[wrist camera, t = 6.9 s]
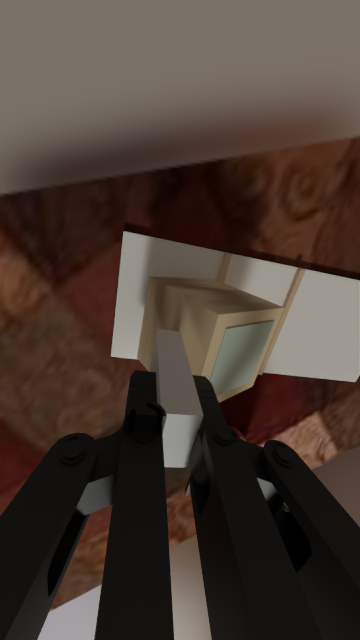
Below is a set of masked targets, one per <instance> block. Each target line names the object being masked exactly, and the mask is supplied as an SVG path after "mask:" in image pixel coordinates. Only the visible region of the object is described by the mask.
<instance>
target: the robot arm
mask: <svg viewBox="0 0 360 640" xmlns="http://www.w3.org/2000/svg"><path fill="white" fill-rule="evenodd" d="M189 459H190V462H191V468H192V471H191V474H190V477H189V480H188V483H187V486H186V489H185V496H188V494H189V492H190V491H191V498H192V505H193V512H194V519H195V526H196V533H197V539H198V546H199V553H200V560H201V567H202V574H203V581H204V588H205V595H206V602H207V609H208V616H209V622H210V630H211V637H212V640H360V527H359V526H358V525H357V524H356V522H354V520H353V519H352V518H351V517H350V516H349V514H348V513H347V512H346V511H345V510H344V508H343V507H342V506H341V505H340V504H339V502H337V500H336V499H335V498H334V497H333V496H332V494H331V493H330V492H329V491H328V490H327V488H326V487H325V486H324V485H323V484H322V482H321V481H320V480H319V479H318V478H317V477H316V475H315V474H314V473H313V472H312V471H311V470H310V468H309V467H308V466H307V465H306V464H305V462H304V461H303V460H302V459H301V458H300V457H299V455H298V454H297V453H296V452H295V451H294V450H293V449H292V448H291V447H289V446H288V445H286V444H285V443H283V442H280V441H277V440H269V441H267V442H266V443H265V445H264V447H260V446H258V445H255V444H252V443H249V442H246V441H244V440H242V439H241V438H240V436H239V435H238V433H237V431H235V430H234V429H233V428H232V427H231V426H229V425H227V423H226V420H225V417H224V415H223V412H222V409H221V407H220V404H219V402H218V399H217V396H216V394H215V392H214V388H213V386H212V383H211V382H210V381H209V380H208V379H207V378H206V377H205V376H197V375H192V372H191V368H190V364H189V361H188V357H187V353H186V350H185V346H184V342H183V338H182V335H181V332H178V331H170V330H163V329H157V330H156V336H155V342H154V347H153V353H152V358H151V364H150V372H147V371H137V370H136V371H135V372H134V373H133V374H132V375H131V377H130V383H129V390H128V397H127V404H126V411H125V419H124V423H123V425H122V426H121V428H120V429H119V430H118V431H117V432H115V433H114V434H112V435H110V436H107V437H105V438H101V439H97V440H94V439H93V437H91V436H89V435H87V434H85V433H74V434H70V435H67V436H65V437H63V438H61V439H59V440H58V441H57V442H56V443H55V444H54V445H53V446H52V447H51V448H50V450H49V451H48V452H47V454H46V455H45V457H44V458H43V459H42V461H41V462H40V463H39V465H38V466H37V467H36V469H35V470H34V471H33V473H32V474H31V476H30V477H29V478H28V480H27V481H26V482H25V484H24V485H23V486H22V488H21V489H20V490H19V492H18V493H17V495H16V496H15V497H14V499H13V500H12V501H11V503H10V504H9V505H8V507H7V508H6V509H5V511H4V512H3V514H2V515H1V516H0V640H37V639H38V636H39V634H40V632H41V629H42V627H43V625H44V622H45V620H46V617H47V615H48V613H49V610H50V608H51V606H52V603H53V601H54V598H55V596H56V594H57V591H58V589H59V587H60V584H61V582H62V579H63V577H64V575H65V572H66V570H67V568H68V565H69V563H70V560H71V558H72V556H73V553H74V551H75V549H76V546H77V544H78V541H79V539H80V537H81V534H82V532H83V530H84V527H85V525H86V522H87V520H88V518H89V515H90V513H92V512H95V511H97V510H100V509H102V508H105V507H107V506H110V505H112V504H113V506H112V513H111V520H110V528H109V535H108V543H107V550H106V557H105V565H104V572H103V579H102V587H101V595H100V602H99V609H98V616H97V624H96V632H95V639H94V640H174V631H173V612H172V595H171V578H170V577H171V576H170V560H169V540H168V523H167V505H166V487H165V469H164V467H187V466H188V463H189ZM284 502H285V504H286V505H287V507H288V508H287V507H286V506H285V505H284Z"/></svg>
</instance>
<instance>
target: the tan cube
mask: <svg viewBox="0 0 360 640" xmlns="http://www.w3.org/2000/svg"><path fill="white" fill-rule="evenodd" d="M283 310H284V307H282V306H279V305H277V304H274V303H272V302H269V301H267V300H264V299H262V298H259V297H257V296H254V295H252V294H250V293H247V292H245V291H242V290H240V289H237V288H235V287H232V286H230V285H227V284H225V283H222V282H220V281H217V280H215V279H196V278H173V277H150V276H149V281H148V288H147V295H146V301H145V308H144V314H143V321H142V328H141V334H140V341H139V347H138V354H137V359H138V360H139V361H140V362H141V363H142V364H143V365H144V366H145V368H146V369H147V370H148V371H149V372H150V364H151V358H152V353H153V347H154V342H155V336H156V330H157V329H163V330H170V331H178V332H181V335H182V338H183V342H184V346H185V350H186V353H187V357H188V361H189V364H190V368H191V372H192V375H197V376H205V377H206V378H207V379H208V380H209V381H210V382H211V383H212V386H213V388H214V392H215V394H216V396H217V399H218V402H222V401H224V400H226V399H228V398H230V397H232V396H234V395H236V394H238V393H240V392H242V391H244V390H246V389H248V388H250V387H253V384H254V382H255V379H256V377H257V375H258V372H259V370H260V367H261V365H262V362H263V360H264V357H265V355H266V352H267V350H268V347H269V345H270V342H271V340H272V337H273V335H274V333H275V330H276V328H277V325H278V323H279V320H280V318H281V315H282V313H283Z"/></svg>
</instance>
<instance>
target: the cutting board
mask: <svg viewBox="0 0 360 640" xmlns="http://www.w3.org/2000/svg"><path fill="white" fill-rule="evenodd" d="M149 276H150V277H173V278H196V279H215V280H217V281H220V282H222V283H225V284H227V285H230V286H232V287H235V288H237V289H240V290H242V291H245V292H247V293H250V294H252V295H254V296H257V297H259V298H262V299H264V300H267V301H269V302H272V303H274V304H277V305H279V306H282V307H284V310H283V313H282V315H281V318H280V320H279V323H278V325H277V328H276V330H275V333H274V335H273V337H272V340H271V342H270V345H269V347H268V350H267V352H266V355H265V357H264V360H263V362H262V365H261V367H260V370H259V372H258V374H259V375H262V374H263V372H264V373H274V374H283V375H293V376H303V377H312V378H322V379H331V380H341V381H350V382H356V380H357V379H358V377H359V375H360V280H356V279H351V278H346V277H341V276H337V275H332V274H327V273H322V272H318V271H313V270H308V269H303V268H298V267H294V266H289V265H284V264H279V263H275V262H270V261H265V260H260V259H255V258H251V257H246V256H241V255H236V254H232V253H227V252H222V251H217V250H212V249H208V248H203V247H198V246H193V245H189V244H184V243H179V242H174V241H169V240H165V239H160V238H155V237H150V236H146V235H141V234H136V233H131V232H127V231H123V241H122V251H121V261H120V271H119V281H118V291H117V301H116V311H115V321H114V331H113V341H112V351H111V357H121V358H130V359H137V354H138V347H139V341H140V334H141V328H142V321H143V314H144V308H145V301H146V295H147V288H148V281H149Z"/></svg>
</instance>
